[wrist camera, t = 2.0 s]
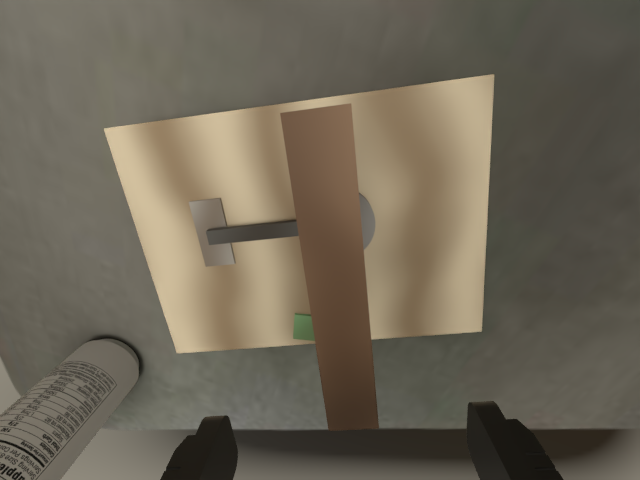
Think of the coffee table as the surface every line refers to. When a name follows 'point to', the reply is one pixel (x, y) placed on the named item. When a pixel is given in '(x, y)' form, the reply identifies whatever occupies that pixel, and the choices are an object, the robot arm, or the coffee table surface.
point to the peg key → (328, 256)
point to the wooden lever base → (277, 205)
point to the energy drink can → (65, 411)
